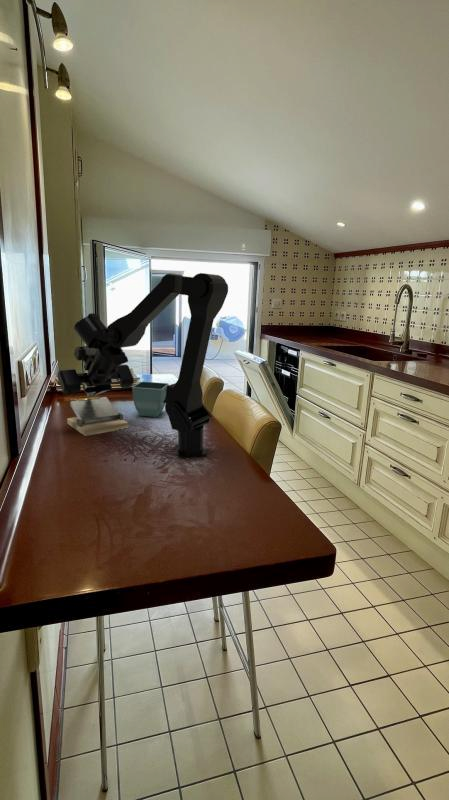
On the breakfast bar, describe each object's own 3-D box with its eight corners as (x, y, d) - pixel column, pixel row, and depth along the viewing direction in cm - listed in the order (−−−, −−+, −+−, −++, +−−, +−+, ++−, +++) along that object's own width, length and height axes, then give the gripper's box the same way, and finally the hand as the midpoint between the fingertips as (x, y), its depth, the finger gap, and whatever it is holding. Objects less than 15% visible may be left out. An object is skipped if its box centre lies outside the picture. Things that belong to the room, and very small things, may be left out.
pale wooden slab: (128, 428, 113) (128, 417, 113) (85, 436, 106) (84, 424, 105) (108, 417, 122) (108, 407, 121) (67, 423, 115) (66, 413, 114)
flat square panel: (119, 415, 114) (105, 394, 120) (83, 421, 108) (69, 398, 114) (118, 420, 115) (104, 399, 121) (82, 426, 109) (69, 403, 114)
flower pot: (169, 411, 130) (169, 382, 128) (162, 419, 122) (162, 389, 120) (140, 409, 131) (140, 381, 129) (131, 417, 123) (131, 387, 120)
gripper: (128, 334, 114) (111, 369, 125) (57, 337, 102) (45, 375, 113) (143, 368, 110) (124, 401, 121) (71, 375, 98) (57, 410, 109)
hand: (88, 396), depth 116 cm, fingers closed
